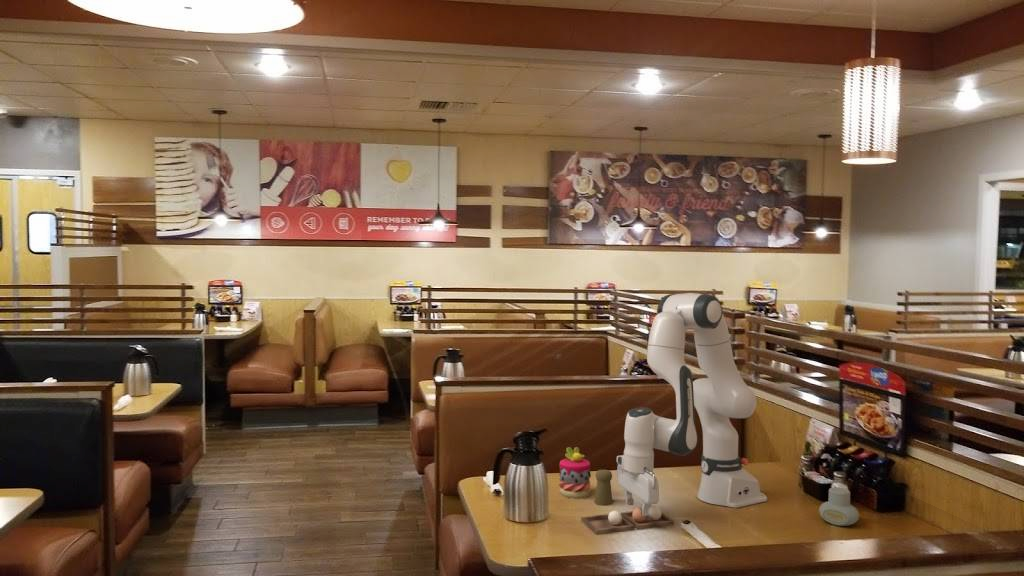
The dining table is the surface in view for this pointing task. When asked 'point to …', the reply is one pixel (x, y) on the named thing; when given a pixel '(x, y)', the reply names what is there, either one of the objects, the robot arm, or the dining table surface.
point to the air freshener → (839, 508)
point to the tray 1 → (605, 524)
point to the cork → (603, 488)
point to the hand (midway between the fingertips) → (637, 509)
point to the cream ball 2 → (654, 513)
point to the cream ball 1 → (614, 517)
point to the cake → (574, 475)
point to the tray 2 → (648, 521)
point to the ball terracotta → (638, 515)
